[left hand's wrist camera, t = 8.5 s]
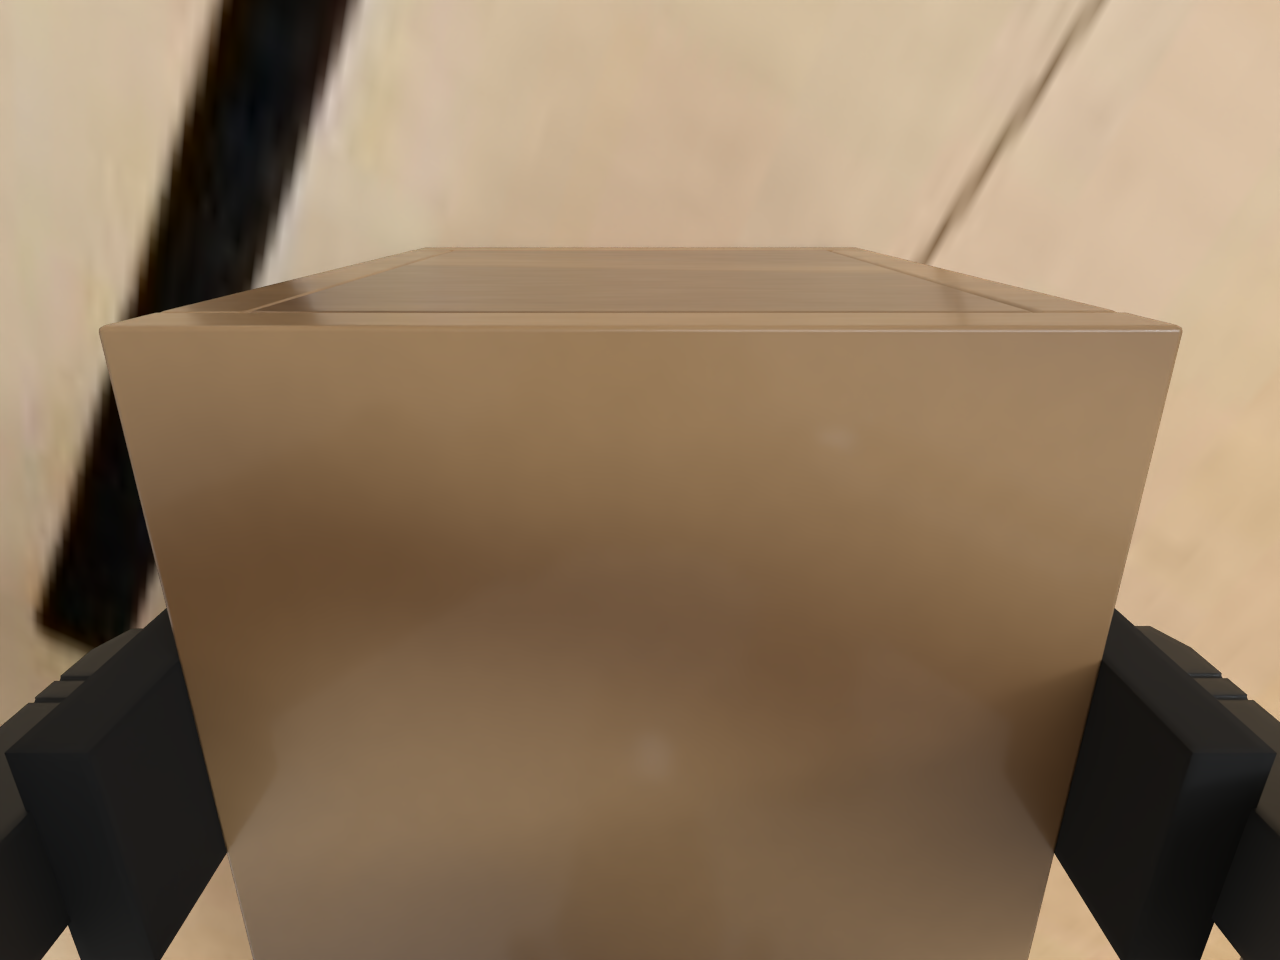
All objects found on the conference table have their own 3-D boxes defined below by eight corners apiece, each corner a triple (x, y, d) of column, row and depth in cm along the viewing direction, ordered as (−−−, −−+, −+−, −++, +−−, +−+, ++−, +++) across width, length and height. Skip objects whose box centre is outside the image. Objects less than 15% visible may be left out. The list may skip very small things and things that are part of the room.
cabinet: (795, 906, 24) (912, 1436, 14) (485, 906, 24) (369, 1436, 14) (858, 247, 17) (1186, 326, 7) (422, 247, 17) (94, 326, 7)
